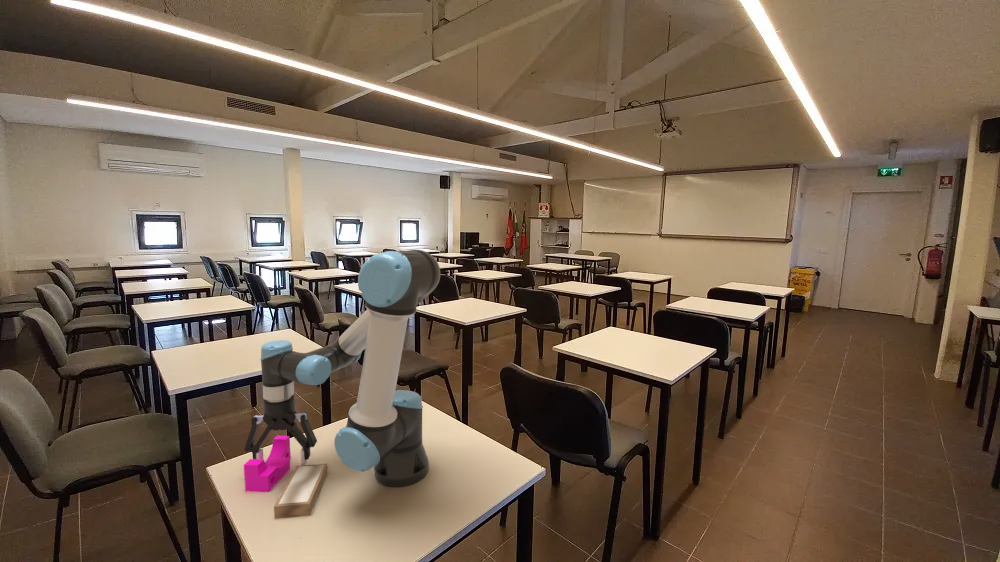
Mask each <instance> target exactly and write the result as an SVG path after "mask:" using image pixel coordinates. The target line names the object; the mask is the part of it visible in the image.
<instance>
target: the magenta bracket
mask: <svg viewBox="0 0 1000 562" xmlns="http://www.w3.org/2000/svg"><path fill="white" fill-rule="evenodd" d="M291 459H292V457H291V439H290V435H276V436H275V437H274V438H273V439H272V447H271V450H270V452H269V455H268V457H267V458H266V460H265V459H253V458H249V459H248V460H247V461H246V462H245V463H244V464H243V476H244V488H245V489H244V490H245V491H244V492H260V493H262V492H264V493H269V492H271V490H272V489H273V488H274V487H275V486H276V485H277V484H278V483H279V481H280V480H282V478H284V477H285V475H286V474H288V472H289V471H290V470H291Z"/></svg>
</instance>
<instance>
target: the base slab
mask: <svg viewBox="0 0 1000 562" xmlns="http://www.w3.org/2000/svg"><path fill="white" fill-rule="evenodd" d="M328 468H329V467H328V463H319V464H318V463H315V464H307V465H301V464H300V465H296V467H295V469H294V470H293V472H292V474H291V476H290V477H289V479H288V481H287V482H286V484H285V486H284V488H283V490H282V492H281V494H280V495H279V497H278V499H277V500H276V502H275V504H274V506H273V510H274V511H273V513H274V514H273V515H274V519H281V518H283V519H285V518H293V517H302V516H303V517H304V516H311V514H312V512H313V510H314V507H315V504H316V502H317V500H318V499H319V495H320V493H321V490H322V488H323V486H324V483H325V481H326V478H327V476H328Z"/></svg>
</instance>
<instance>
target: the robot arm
mask: <svg viewBox="0 0 1000 562" xmlns="http://www.w3.org/2000/svg"><path fill="white" fill-rule="evenodd" d="M440 279H441V268H440V265H439V262H438V261H437V260H436V258H435V257H434V256H433V255H432V254H430V253H429V252H428V251H425V250H421V249H409V250H396V251H395V250H389V251H383V252H380V253H377V254H374V255H372V256H370V257H369V258H368V259H366V260H365V262H364V263H363V265H362V266H361V268H360V270H359V273H358V277H357V285H358V291H359V292H361V293H360V296H361V297H362V299H363V300H364V301H365V304H364V307H365V308H366V310H365V311H364V312H363V313H362V314H361V315H360V316H359V317H358V318H356V320H355V321H354V322H353V323H352V324H351V325H350V326H348V327H347V329H345V330H344V332H343V333H342V334H341V335H340V336H339V337H338V338H337V339H336V340H335V341H334V342H332V343H331V344H328V345H325V346H323V347H319V348H316V349H314V350H312V351H308V352H298V351H294V349H293V344H292V342H291V341H289V340H285V339H284V340H281V339H280V340H279V339H278V340H273V341H268V342H266V343H264V344H263V345H262V346H261V348H260V349H261V350H260V359H259V360H260V362H261V363H260V364H261V367H260V368H261V379H262V398H263V413H264V414H263V415H260V414H258V413H256V414H255V415H254V416H253V417H252V418H251V420H250V421H251V429H250V432H249V434H248V438H247V440H246V442H245V446H244V452H251V453H252V459H264V449H263V448H262V447H261V446H262V445H263V443H264V441H265V440H266V439H267V437H268V435H270V432H271V431H272V430H273V432H274V431H287V432H288V433H290V434H291V435H292V437H294V439H295V441H297V443H298V444H299V445H300V446H301V449H300V463H301V464H300V465H308V460H309V459H310V457H311V448H314V447H315V446H316V445H317V443H318V440H317V437H316V435H315V433H314V430H313V428H312V426H311V423H310V422H309V418H308V417H309V416H308V412H307V411H303V413H297V412H296V406H295V405H296V403H295V401H296V400H295V385H294V384H295V382H297V383H300V384H303V385H307V386H308V385H309V386H310V385H313V386H319V385H322V384H324V383H325V382H326V381H327V380H328V378H329V377H330V376H331V375H330V374H331V373H334V372H335V371H338V370H340V369H343V368H345V367H348V366H351V365H353V364H354V363H356V362H358V360H360V359H361V356H362V353H363V351H364V355H363V361H362V367H361V375H360V380H359V381H360V382H359V388H358V392H357V393H358V394H357V400H356V403H354V404H352V406H351V407H349V411H348V416H347V421H346V425H345V427H344V426H343V427H342V428H340V429H339V431H338V432H337V433H336V434H335V437H334V443H333V444H334V449H335V452H336V454H337V456H338V458H339V460H340V461H341V463H343V464H344V465H345V466H346V467H347V468H349V469H351V470H353V471H356V472H360V473H361V472H362V473H363V472H366V471H369V470H370V469H371V468H373V467H374V469H373V471H374V473H373V474H374V478H375V480H376V481H377V482H378V483H380V484H381V485H383V486H387V487H395V488H396V487H398V488H399V487H406V486H410V485H413V484H416V483H418V482H419V481H421V480H422V479H424V478H425V477H426V475H427V474H428V472H429V469H430V467H429V466H430V465H429V458H428V455H427V451H426V449H425V446H424V444H423V408H424V406H423V398H422V396H421V395H420V394H419V393H418V392H415V391H412V390H407V389H404V390H403V389H397V390H396V388H397V384H398V383H397V382H398V378H399V377H398V376H399V371H400V365H401V361H402V360H401V359H402V355H403V349H404V343H405V336H406V332H407V326H408V319H410V318H411V317H412V316H413V315H415V314H416V313H417V312H416V311H417V308H418V305H419V304H420V303H421V302H422V301H423V300H424V299H425V298H427V297H428V296H429V295H430V294H431V293H433V291H435V290H436V288H437V286H438V284H439V283H440V281H441V280H440ZM296 419H297V421H298V422H299V423H300V426H301V428H302V430H301V429H300V428H299V427H298V426H297V423H296V421H295V420H296ZM262 423H265V424H266V425H267V426H266V428H265V430H264V431H263V433H262V434H261V435H260V437H259V439H258V441H257V442H256V443H255V440H256V436H257V434H258V431H259V427H260V424H262ZM302 431H303V432H302ZM254 443H255V444H254ZM264 460H265V459H264Z"/></svg>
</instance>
